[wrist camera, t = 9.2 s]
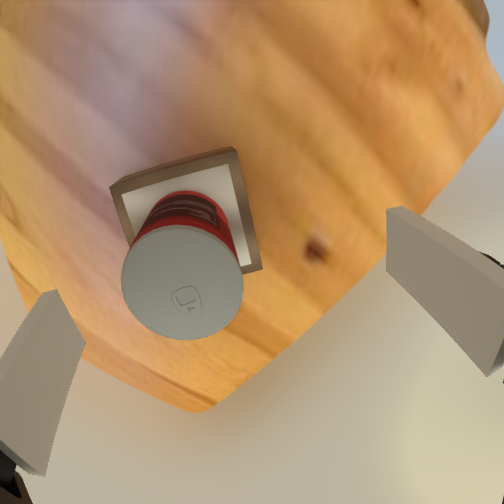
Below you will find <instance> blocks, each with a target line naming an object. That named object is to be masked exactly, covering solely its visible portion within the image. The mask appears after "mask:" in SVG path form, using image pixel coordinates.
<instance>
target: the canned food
mask: <svg viewBox="0 0 504 504" xmlns="http://www.w3.org/2000/svg"><path fill="white" fill-rule="evenodd" d="M121 286H122V292H123V296H124V299H125V302H126V304H127V305H128V307H129V309H130V311H131V312H132V313H133V315H134V316H135V317H136V318H137V320H139V321H140V322H141V323H142V324H143V325H144V326H145V327H147V328H149V329H150V330H152V331H153V332H155V333H157V334H160V335H162V336H165V337H168V338H172V339H178V340H194V339H200V338H204V337H208V336H210V335H212V334H215V333H217V332H218V331H220V330H221V329H223V328H224V327H225V326H227V325H228V324H229V323H230V321H231V320H232V319H233V318H234V317H235V315H236V313H237V312H238V310H239V308H240V305H241V302H242V297H243V276H242V271H241V266H240V263H239V259H238V256H237V252H236V249H235V245H234V242H233V238H232V234H231V231H230V227H229V224H228V221H227V217H226V216H225V214H224V212H223V210H222V209H221V208H220V206H219V205H218V204H217V203H216V202H215V201H214V200H212V199H211V198H210V197H208V196H206V195H204V194H202V193H198V192H195V191H186V190H185V191H177V192H174V193H171V194H168V195H166V196H165V197H163V198H161V199H160V200H159V201H158V202H157V203H156V204H155V205H154V207H153V208H152V209H151V211H150V213H149V214H148V216H147V218H146V220H145V221H144V223H143V225H142V227H141V228H140V230H139V232H138V234H137V236H136V237H135V239H134V241H133V243H132V245H131V247H130V249H129V251H128V253H127V256H126V258H125V261H124V264H123V268H122V275H121Z"/></svg>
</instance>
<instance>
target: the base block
mask: <svg viewBox="0 0 504 504" xmlns="http://www.w3.org/2000/svg"><path fill="white" fill-rule="evenodd" d="M109 188H110V191H111V195H112V198H113V201H114V204H115V207H116V210H117V213H118V216H119V218H120V221H121V224H122V227H123V230H124V233H125V235H126V238H127V241H128V243H129V246H130V247H131V245H132V243H133V241H134V239H135V237H136V236H137V234H138V232H139V230H140V228H141V227H142V225H143V223H144V221H145V220H146V218H147V216H148V214H149V213H150V211H151V209H152V208H153V207H154V205H155V204H156V203H157V202H158V201H159V200H160V199H161V198H163V197H165V196H166V195H168V194H171V193H174V192H177V191H185V190H186V191H195V192H198V193H202V194H204V195H206V196H208V197H210V198H211V199H212V200H214V201H215V202H216V203H217V204H218V205H219V206H220V208H221V209H222V210H223V212H224V214H225V216H226V217H227V221H228V224H229V227H230V231H231V234H232V238H233V242H234V245H235V249H236V252H237V256H238V259H239V263H240V266H241V271H242V274H246V273H250V272H254V271H258V270H261V269H263V267H262V262H261V258H260V253H259V249H258V244H257V240H256V235H255V231H254V226H253V222H252V217H251V213H250V208H249V204H248V200H247V195H246V191H245V186H244V182H243V177H242V173H241V169H240V164H239V160H238V156H237V151H236V150H235V149H234V148H233V147H228V148H223V149H219V150H215V151H211V152H207V153H203V154H200V155H196V156H192V157H189V158H185V159H181V160H178V161H174V162H171V163H167V164H164V165H161V166H157V167H154V168H151V169H148V170H144V171H141V172H138V173H135V174H132V175H129V176H126V177H123V178H121V179H120V180H118V181H117V182H116V183H114V184H113V185H112V186H110V187H109Z"/></svg>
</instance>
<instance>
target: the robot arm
mask: <svg viewBox="0 0 504 504" xmlns="http://www.w3.org/2000/svg"><path fill="white" fill-rule="evenodd" d="M386 220H387V255H386V271H387V272H388V273H389V274H390V275H391V276H392V277H393V278H394V279H395V280H396V281H397V282H398V283H399V284H400V285H401V286H402V287H403V288H404V289H405V290H406V291H407V292H408V293H409V294H410V295H411V296H412V297H413V298H414V299H415V300H416V301H417V302H418V303H419V304H420V305H421V306H422V307H423V308H424V309H425V310H426V311H427V312H428V313H429V314H430V315H431V316H432V317H433V318H434V319H435V320H436V321H437V322H438V323H439V324H440V326H441V327H442V328H443V329H444V330H445V331H446V332H447V333H448V334H449V335H450V336H451V337H452V338H453V340H454V341H455V342H456V343H457V344H458V345H459V346H460V347H461V348H462V350H463V351H464V352H465V353H466V354H467V355H468V356H469V357H470V359H471V360H472V361H473V362H474V363H475V364H476V365H477V367H478V368H479V369H480V370H481V371H482V372H483V373H484V375H485V376H486V377H488V376H489V375H491V374H492V373H494V372H495V371H496V370H498V369H499V368H501V367H502V366H503V364H504V265H503V264H502V265H500V262H498V261H497V260H495V259H494V258H492V257H491V256H489V255H487V254H484V253H481V252H479V251H477V250H475V249H474V248H472V247H471V246H469V245H467V244H466V243H464V242H463V241H461V240H459V239H458V238H456V237H455V236H453V235H452V234H450V233H448V232H447V231H445V230H443V229H442V228H440V227H438V226H437V225H435V224H433V223H432V222H430V221H428V220H427V219H425V218H423V217H421V216H420V215H418V214H416V213H414V212H413V211H411V210H409V209H407V208H405V207H404V206H398V207H394V208H389V209H386ZM85 344H86V342H85V340H84V338H83V337H82V335H81V333H80V331H79V330H78V328H77V326H76V324H75V323H74V321H73V319H72V317H71V316H70V314H69V312H68V310H67V308H66V306H65V304H64V302H63V301H62V299H61V297H60V295H59V293H58V291H57V289H56V290H52V291H48V292H44V293H43V294H42V295H41V296H40V298H39V299H38V301H37V302H36V304H35V305H34V306H33V308H32V309H31V311H30V312H29V314H28V316H27V317H26V319H25V320H24V321H23V323H22V324H21V326H20V328H19V329H18V331H17V332H16V334H15V336H14V337H13V339H12V340H11V342H10V344H9V345H8V347H7V348H6V350H5V352H4V354H3V355H2V357H1V359H0V504H33V503H32V501H31V499H30V497H29V494H28V492H27V489H26V487H25V484H24V482H23V479H22V477H21V476H20V475H19V473H18V472H16V471H15V468H16V465H18V466H19V467H21V468H22V469H23V470H25V471H26V472H27V473H28V474H32V475H38V476H43V477H45V475H46V470H47V466H48V462H49V457H50V453H51V449H52V445H53V442H54V437H55V434H56V431H57V427H58V424H59V420H60V417H61V413H62V410H63V407H64V404H65V400H66V397H67V394H68V391H69V388H70V385H71V382H72V379H73V377H74V373H75V371H76V368H77V365H78V362H79V360H80V357H81V355H82V352H83V349H84V347H85ZM503 383H504V381H503ZM502 504H504V497H503V502H502Z"/></svg>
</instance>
